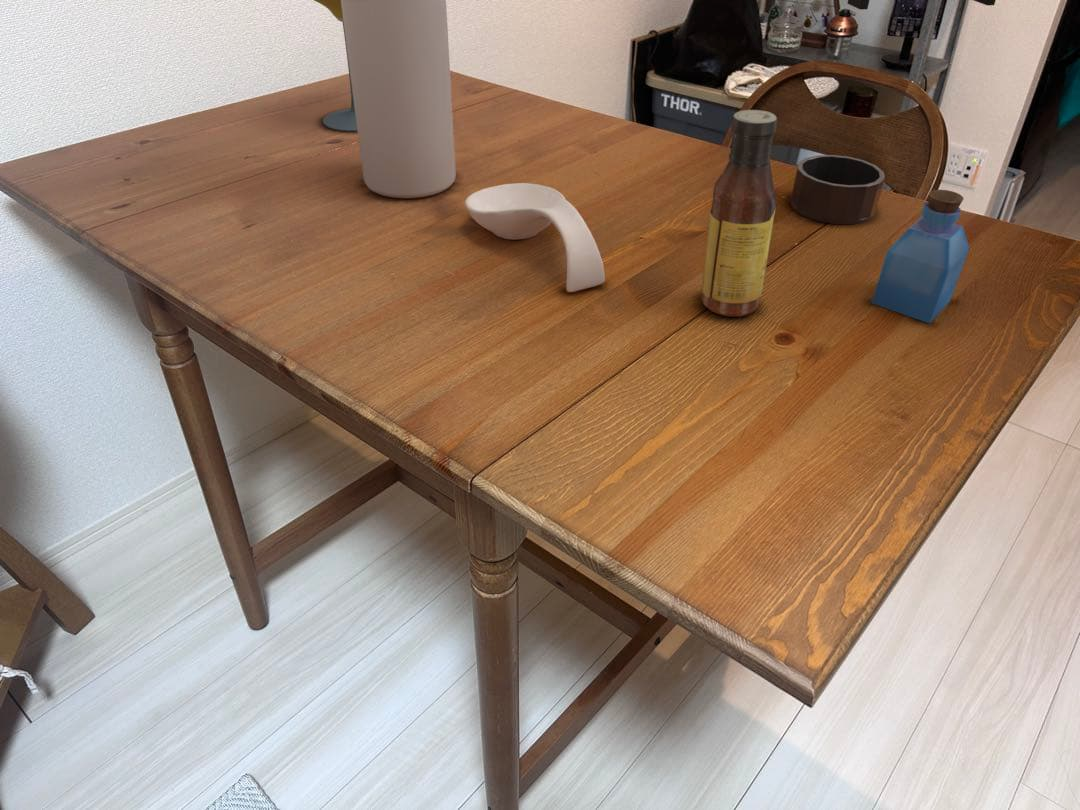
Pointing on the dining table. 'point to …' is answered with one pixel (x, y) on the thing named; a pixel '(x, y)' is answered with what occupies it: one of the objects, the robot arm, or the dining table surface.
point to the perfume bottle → (925, 261)
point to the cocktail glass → (347, 117)
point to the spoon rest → (540, 225)
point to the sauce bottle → (741, 219)
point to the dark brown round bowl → (836, 189)
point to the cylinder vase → (401, 94)
